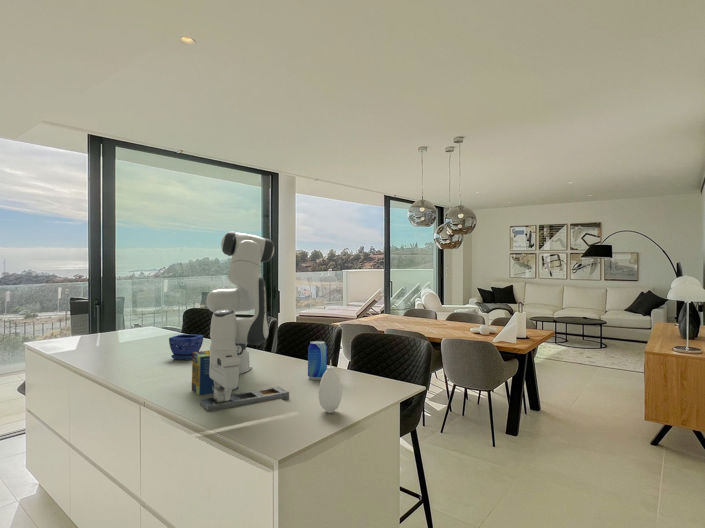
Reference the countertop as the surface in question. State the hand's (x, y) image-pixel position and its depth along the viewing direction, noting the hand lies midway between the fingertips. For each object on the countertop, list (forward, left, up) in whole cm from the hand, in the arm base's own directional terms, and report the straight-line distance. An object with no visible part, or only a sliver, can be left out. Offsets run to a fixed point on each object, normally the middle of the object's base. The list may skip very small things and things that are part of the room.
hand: (222, 396), depth 143 cm
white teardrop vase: (+25, +29, -4) cm, 38 cm away
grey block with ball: (0, 0, -3) cm, 3 cm away
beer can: (-15, +48, -4) cm, 50 cm away
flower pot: (-88, +10, -4) cm, 89 cm away
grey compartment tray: (0, +9, -4) cm, 10 cm away
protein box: (-20, +4, -4) cm, 21 cm away
